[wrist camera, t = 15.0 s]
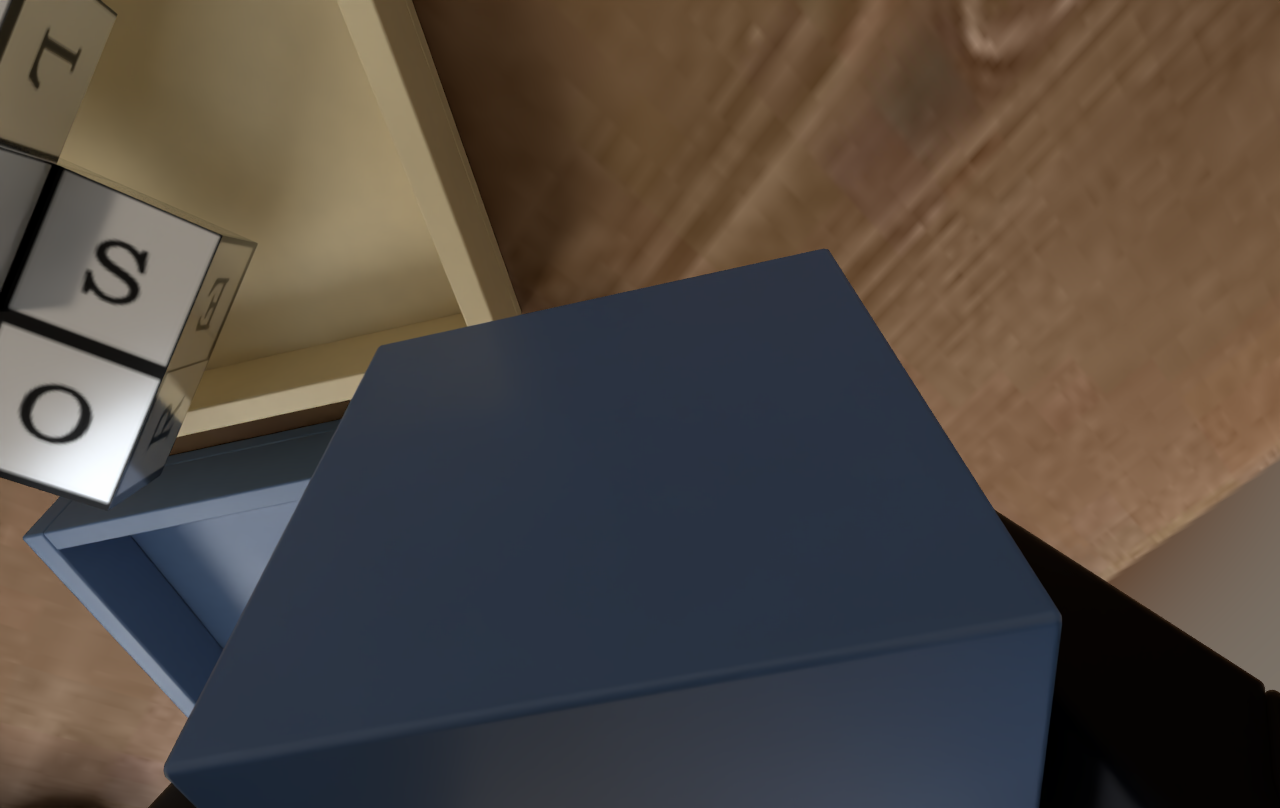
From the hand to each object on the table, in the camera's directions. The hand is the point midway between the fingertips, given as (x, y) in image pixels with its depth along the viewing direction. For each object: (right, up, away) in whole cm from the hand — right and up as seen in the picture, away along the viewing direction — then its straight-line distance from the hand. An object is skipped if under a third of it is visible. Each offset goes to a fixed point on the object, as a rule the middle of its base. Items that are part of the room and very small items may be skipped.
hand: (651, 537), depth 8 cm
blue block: (0, +1, +1) cm, 1 cm away
